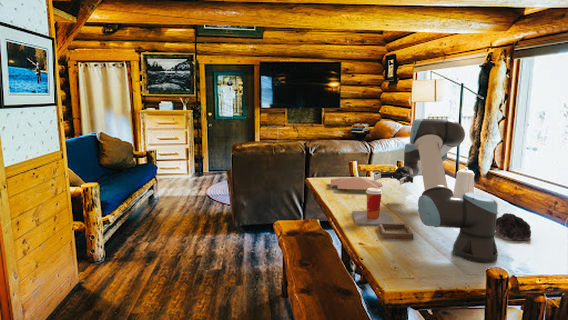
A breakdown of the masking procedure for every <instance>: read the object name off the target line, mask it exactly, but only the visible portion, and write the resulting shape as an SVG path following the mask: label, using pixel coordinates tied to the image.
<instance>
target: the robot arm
mask: <svg viewBox="0 0 568 320" xmlns="http://www.w3.org/2000/svg"><path fill="white" fill-rule="evenodd" d="M465 131H466V130H465V129H464V127H463V126H462V125H461V124H460V123H459V122H457V121H456V120H453V119H448V118H447V119H446V118H445V119H444V118H443V119H441V118H416V119H414V120H413V121H412V122H411V127H410V132H409V133H410V134H409V143H405V145H404V151H403V152H404V153H403V166H400V167H398V168H396V169H395V171H390V170H387V171H379V172H377V171H376V172H375V173H374V175H373V180H374V181H378V180H381V179H390V180H391V179H392V180H393V179H395V180H397V181H399V185H400V186H401V185H402V186H403V184H407V183H410V184H413V183H414V178H415V177H416V176H418V175H419V173H420V167H421V174H422V181H423V187H424V190H423V191H422V193H421V195H420V196H419V197H418V200H417V206H418V208H417V209H418V210H417V211H418V215H419V218H420V221H421V222H422V224H423V225H425V226H426V227H433V228H449V229H451V228H452V229H459V233H458V234H457V237H456V239H455V241H454V243H453V245H452V252H453V253H454V255H456V256H457V257H459V258H461V259H463V260H466V261H469V262H472V263H477V264H478V263H479V264H492V263H495V262H496V261H498V258H499V252H498V248H497V245H496V241H495V234H496V231H495V227H496V220H497V218H498V214H499V213H498V209H499V208H498V207H499V206H498V202H497V200H495V199H494V198H492V197H490V196H487V195H483V194H481V193H480V194H479V193H475V192H474V193H464V194H463V197H454V195H453V193H454V190H453V191H452V189H451V188H449V186H448V182H447V177H446V171H445V167H444V163H443V162H445V161H446V160H447V159H448V158H447V157H448V152H450V151H451V150H452V149H453V148H456V147H458V146H460V145H461V144H463V142H464V141H465V138H466V132H465ZM419 161H420V166H419V165H418V164H419Z"/></svg>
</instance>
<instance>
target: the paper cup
mask: <svg viewBox="0 0 568 320" xmlns="http://www.w3.org/2000/svg"><path fill="white" fill-rule="evenodd" d="M365 194H366V211H367V217H368V218H370V219H378V218H379V212H381V211H380V210H381V201H382V194H383V191H382V189H381V188H380V189H378V188H368V189H367V190H365Z"/></svg>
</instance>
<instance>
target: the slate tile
mask: <svg viewBox="0 0 568 320" xmlns="http://www.w3.org/2000/svg"><path fill="white" fill-rule="evenodd" d="M352 216H353V220H354V223H355V225H356V226H367V227H368V226H370V227H371V226H372V227H374V226H375V227H378V225H379V223H395V221H394V220H393V218H392V216H391V214H390V213H389V211H380V212H379V218H378V219H370V218H368V217H367V210H352Z"/></svg>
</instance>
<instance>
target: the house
mask: <svg viewBox="0 0 568 320" xmlns="http://www.w3.org/2000/svg"><path fill="white" fill-rule="evenodd" d="M330 186H335V187H333V189H334V190H336V187H337V190H344V189H345V190H346V189H347V192H349V191H351V190H358V191H359V192H360V193H363V194H366V191H367V189H368V188H378V189H381V188H380V187H384V185H383V183H382V182H381V181H378V180H376V181H374V179H369V178H364V177H359V176H358V177H357V176H355V177H340V178H339V177H338V178H333V179H330Z"/></svg>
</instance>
